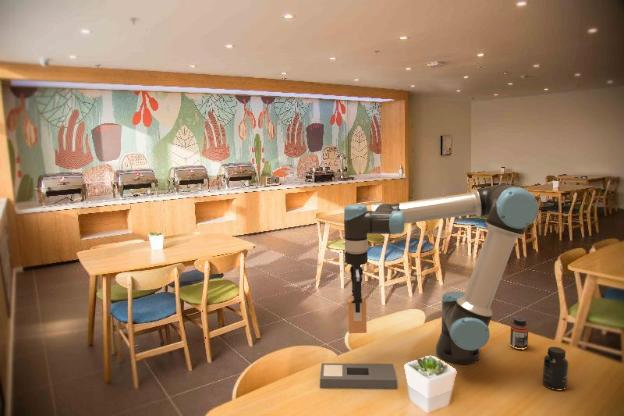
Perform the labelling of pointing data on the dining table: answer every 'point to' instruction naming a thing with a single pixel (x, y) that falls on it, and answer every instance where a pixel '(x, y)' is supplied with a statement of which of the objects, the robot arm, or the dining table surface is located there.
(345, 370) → the block
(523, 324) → the supplement bottle
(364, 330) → the plug
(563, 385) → the supplement bottle
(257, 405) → the dining table surface
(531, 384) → the dining table surface
